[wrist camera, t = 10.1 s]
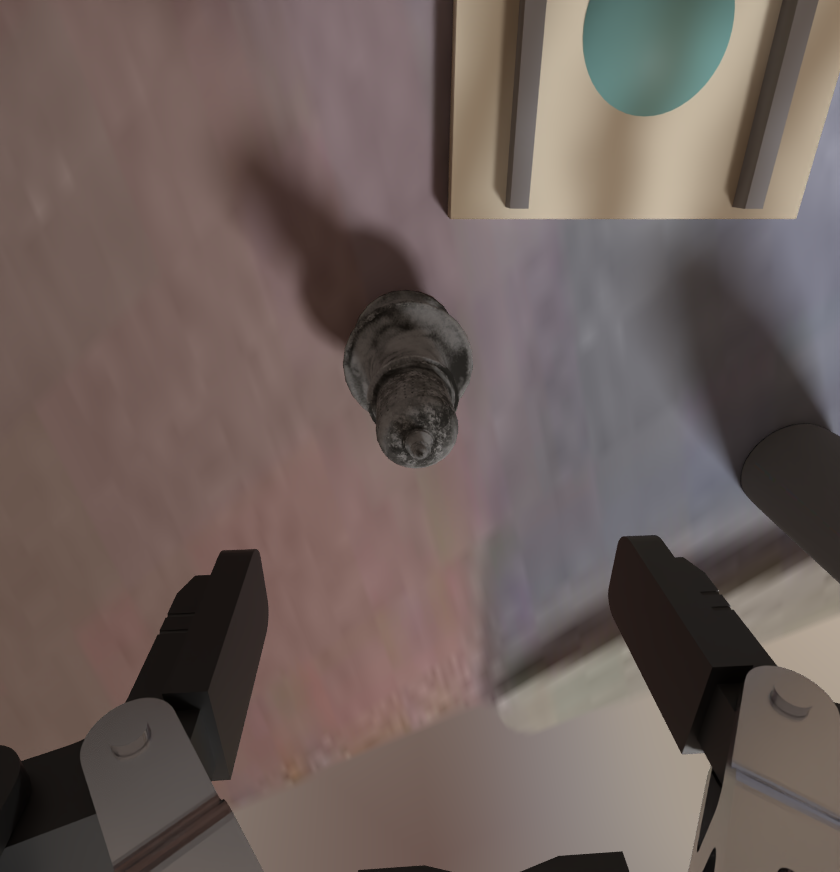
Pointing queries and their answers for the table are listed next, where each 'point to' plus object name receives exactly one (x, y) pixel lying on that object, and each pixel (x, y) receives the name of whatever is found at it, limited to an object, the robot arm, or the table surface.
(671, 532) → the table surface
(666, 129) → the board
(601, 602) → the table surface
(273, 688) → the table surface
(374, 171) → the table surface
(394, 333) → the salt shaker
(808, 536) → the bottle
